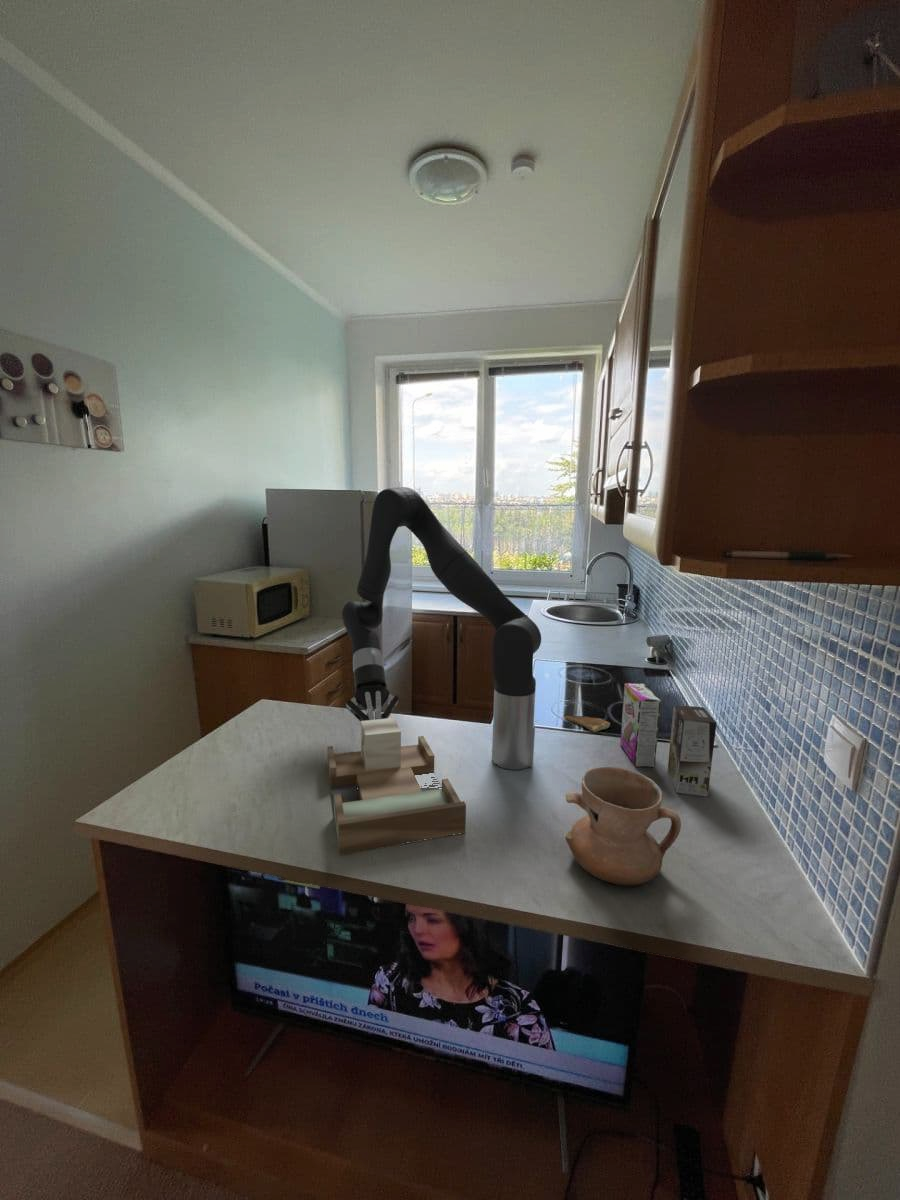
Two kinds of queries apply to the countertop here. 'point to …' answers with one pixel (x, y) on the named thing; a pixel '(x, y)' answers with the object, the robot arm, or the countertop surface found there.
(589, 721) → the shard
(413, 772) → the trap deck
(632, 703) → the candy bar box
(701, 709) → the coffee box
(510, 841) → the countertop surface
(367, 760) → the block
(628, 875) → the ceramic jug
